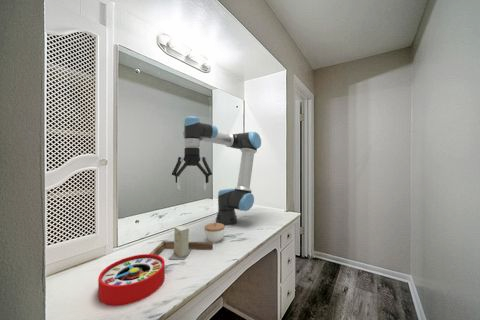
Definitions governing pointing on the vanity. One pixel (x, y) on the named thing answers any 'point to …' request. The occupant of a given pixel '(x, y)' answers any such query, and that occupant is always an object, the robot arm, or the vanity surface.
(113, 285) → the toy clock
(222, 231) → the lidded jar
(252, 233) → the vanity surface
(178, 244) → the skincare box
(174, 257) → the walnut l-shaped corner bracket
